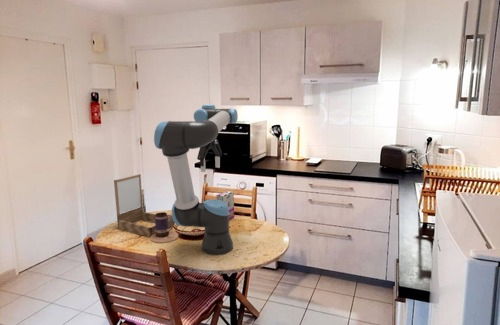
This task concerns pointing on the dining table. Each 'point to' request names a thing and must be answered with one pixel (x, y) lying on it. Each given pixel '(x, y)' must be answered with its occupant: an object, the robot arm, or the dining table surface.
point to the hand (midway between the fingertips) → (210, 169)
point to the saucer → (165, 238)
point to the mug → (162, 224)
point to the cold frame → (137, 215)
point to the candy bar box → (227, 201)
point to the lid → (128, 193)
